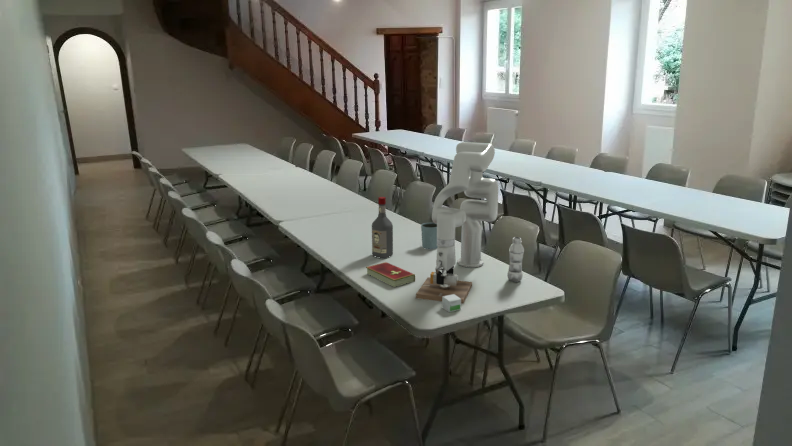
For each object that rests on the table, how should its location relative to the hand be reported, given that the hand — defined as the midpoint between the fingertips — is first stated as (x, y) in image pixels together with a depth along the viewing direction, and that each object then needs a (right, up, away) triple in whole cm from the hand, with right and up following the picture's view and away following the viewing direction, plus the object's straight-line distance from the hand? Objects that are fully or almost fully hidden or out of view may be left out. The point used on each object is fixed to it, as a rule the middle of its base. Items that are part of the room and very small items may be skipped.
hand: (445, 280), depth 248 cm
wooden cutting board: (0, -5, +1) cm, 5 cm away
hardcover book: (-23, -1, +18) cm, 30 cm away
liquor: (-28, +8, +48) cm, 56 cm away
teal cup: (-3, +12, +62) cm, 63 cm away
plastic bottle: (+32, -2, +14) cm, 35 cm away
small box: (+1, -10, -15) cm, 18 cm away
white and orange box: (0, -3, +1) cm, 3 cm away
